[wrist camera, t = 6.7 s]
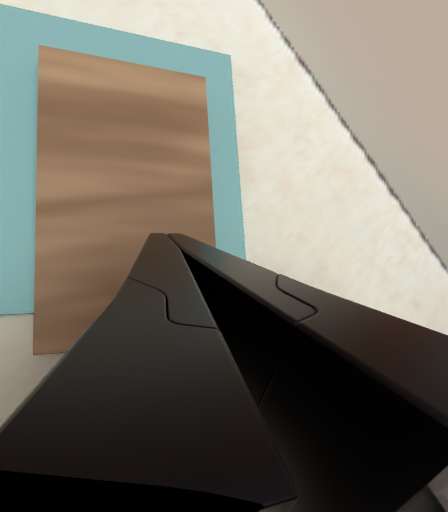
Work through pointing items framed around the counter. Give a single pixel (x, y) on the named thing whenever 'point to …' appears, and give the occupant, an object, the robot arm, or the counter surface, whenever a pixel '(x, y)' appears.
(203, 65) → the mat
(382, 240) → the counter surface
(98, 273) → the walnut tile
